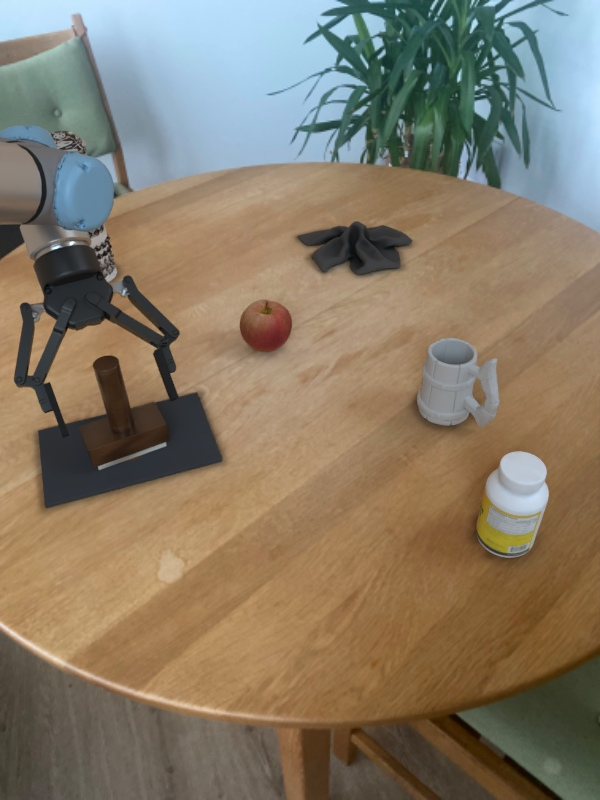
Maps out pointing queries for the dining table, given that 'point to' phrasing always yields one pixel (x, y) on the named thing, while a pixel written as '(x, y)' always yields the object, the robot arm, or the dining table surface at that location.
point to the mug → (456, 384)
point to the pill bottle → (513, 505)
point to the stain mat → (77, 478)
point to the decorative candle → (100, 236)
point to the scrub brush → (121, 421)
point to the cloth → (357, 247)
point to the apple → (265, 325)
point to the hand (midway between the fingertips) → (121, 417)
